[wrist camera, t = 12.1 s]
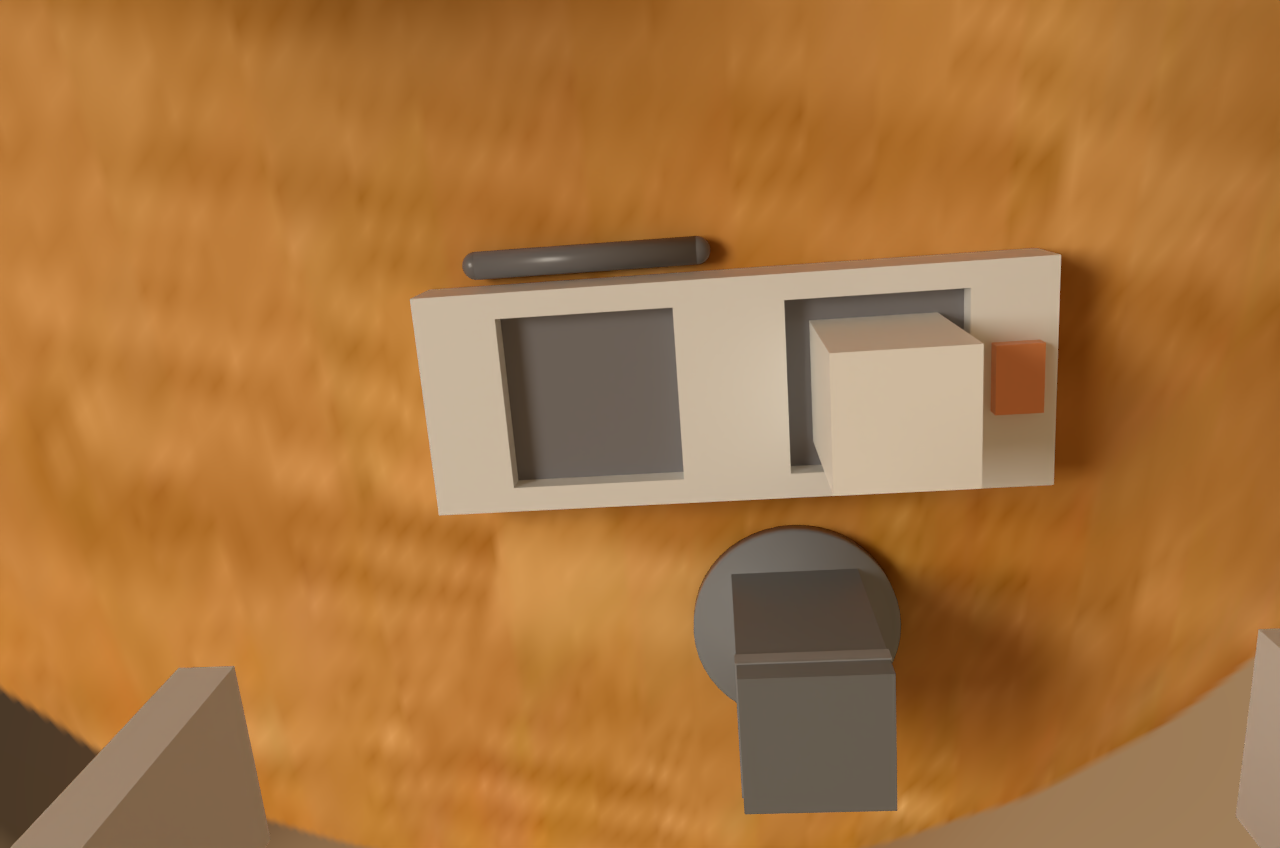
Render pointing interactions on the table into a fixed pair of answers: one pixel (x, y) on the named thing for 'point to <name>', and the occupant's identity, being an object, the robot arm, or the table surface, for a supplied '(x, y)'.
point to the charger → (813, 695)
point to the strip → (699, 371)
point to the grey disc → (782, 554)
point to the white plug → (897, 404)
